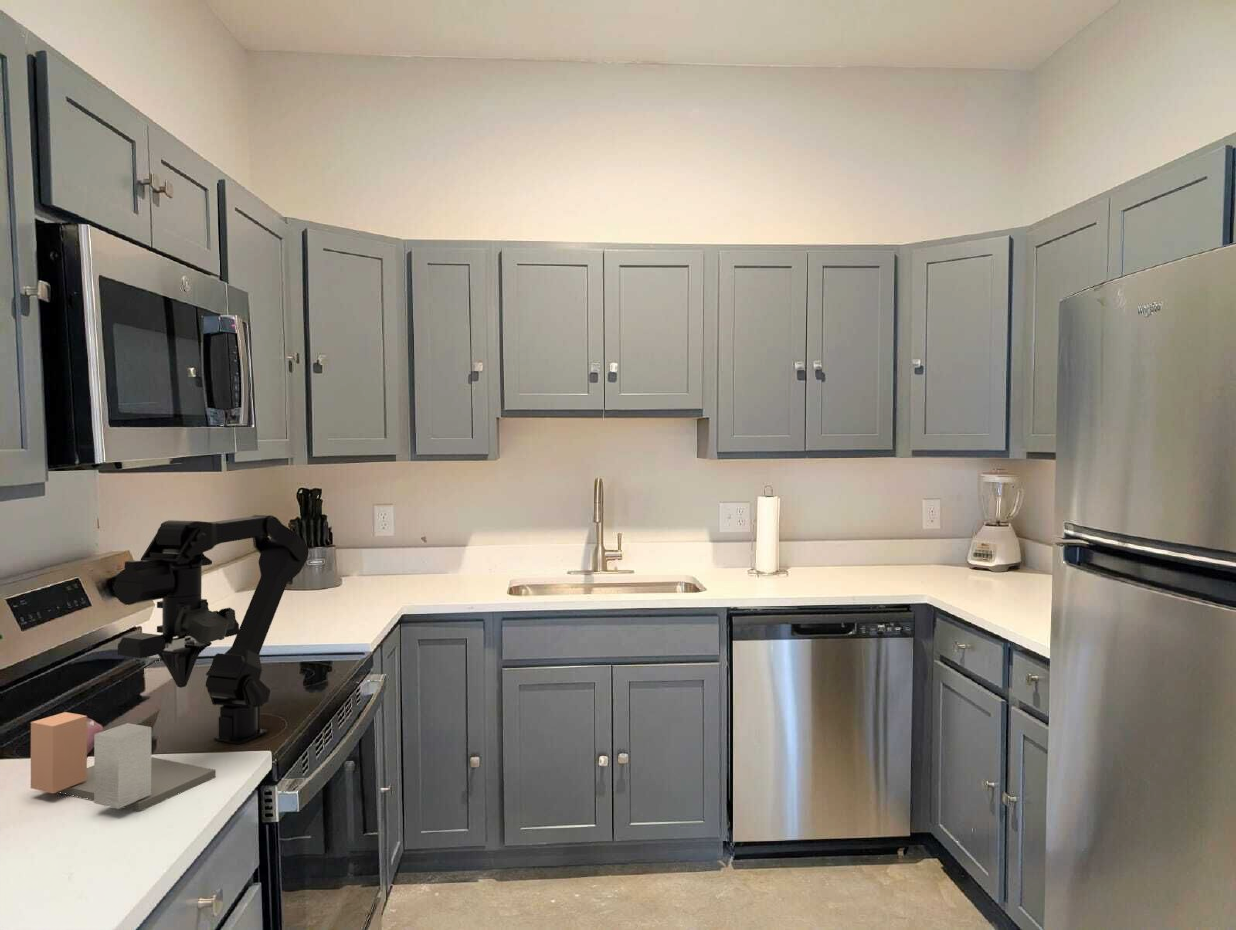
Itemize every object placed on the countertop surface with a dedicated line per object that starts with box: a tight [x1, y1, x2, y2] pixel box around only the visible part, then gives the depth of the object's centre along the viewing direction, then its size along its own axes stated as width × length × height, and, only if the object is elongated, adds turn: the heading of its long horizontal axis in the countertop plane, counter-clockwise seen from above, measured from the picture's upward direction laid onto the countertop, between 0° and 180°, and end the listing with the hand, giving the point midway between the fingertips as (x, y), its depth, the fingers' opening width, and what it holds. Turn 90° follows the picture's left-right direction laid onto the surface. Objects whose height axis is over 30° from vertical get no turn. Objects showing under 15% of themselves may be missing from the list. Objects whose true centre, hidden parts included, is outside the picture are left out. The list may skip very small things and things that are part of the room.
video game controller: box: [87, 717, 104, 755], centre depth 132 cm, size 10×5×7 cm, turn 75°
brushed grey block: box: [93, 722, 152, 810], centre depth 110 cm, size 5×5×10 cm
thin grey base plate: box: [57, 756, 217, 812], centre depth 119 cm, size 13×20×1 cm, turn 69°
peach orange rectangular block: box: [30, 711, 88, 794], centre depth 115 cm, size 5×5×10 cm
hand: (181, 686), depth 127 cm, fingers closed
